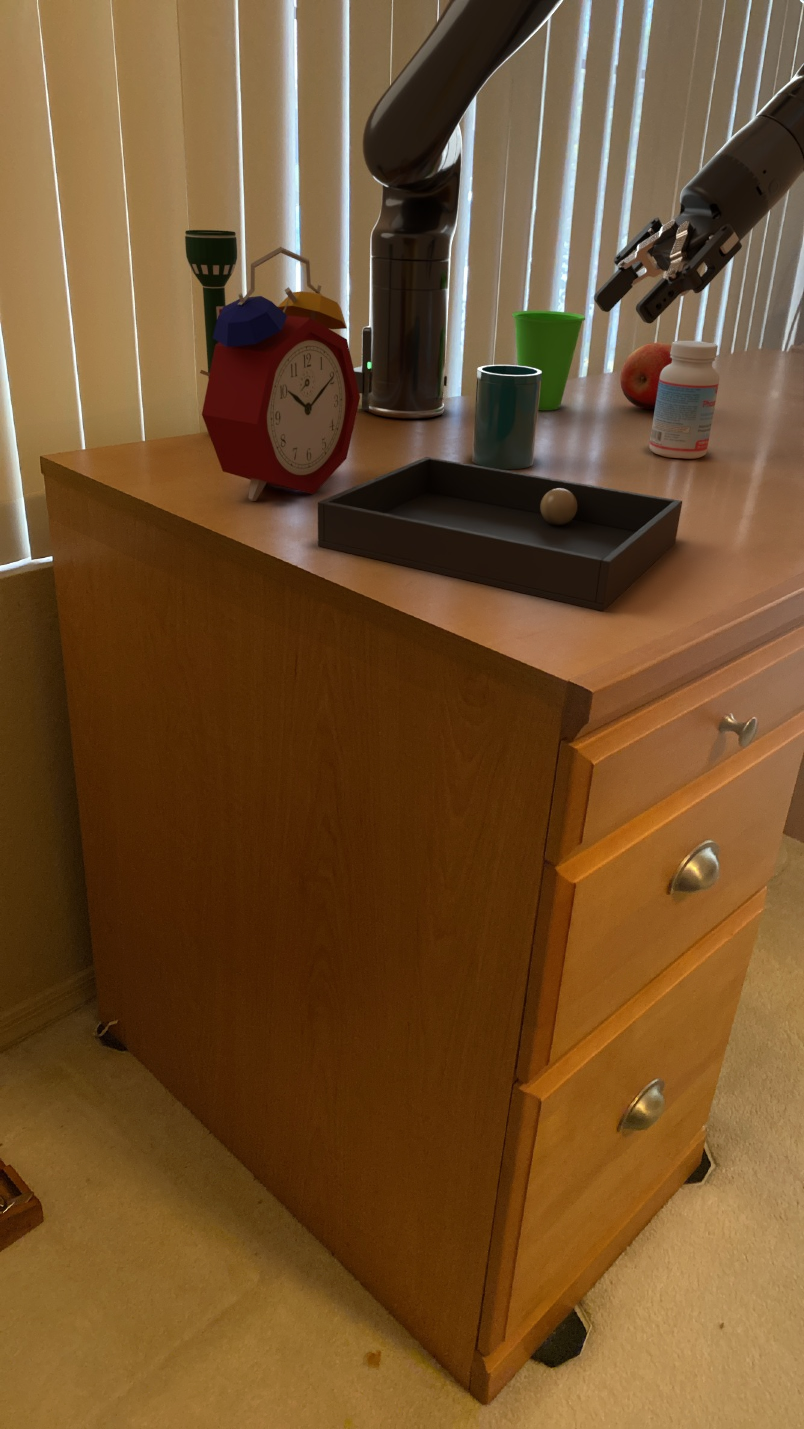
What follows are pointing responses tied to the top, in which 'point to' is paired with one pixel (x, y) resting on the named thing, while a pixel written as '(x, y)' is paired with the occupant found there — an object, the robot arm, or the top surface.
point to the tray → (502, 530)
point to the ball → (558, 506)
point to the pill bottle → (685, 401)
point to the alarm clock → (281, 388)
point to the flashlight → (211, 273)
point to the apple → (644, 373)
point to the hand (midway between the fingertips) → (619, 310)
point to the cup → (547, 349)
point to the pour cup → (506, 416)
